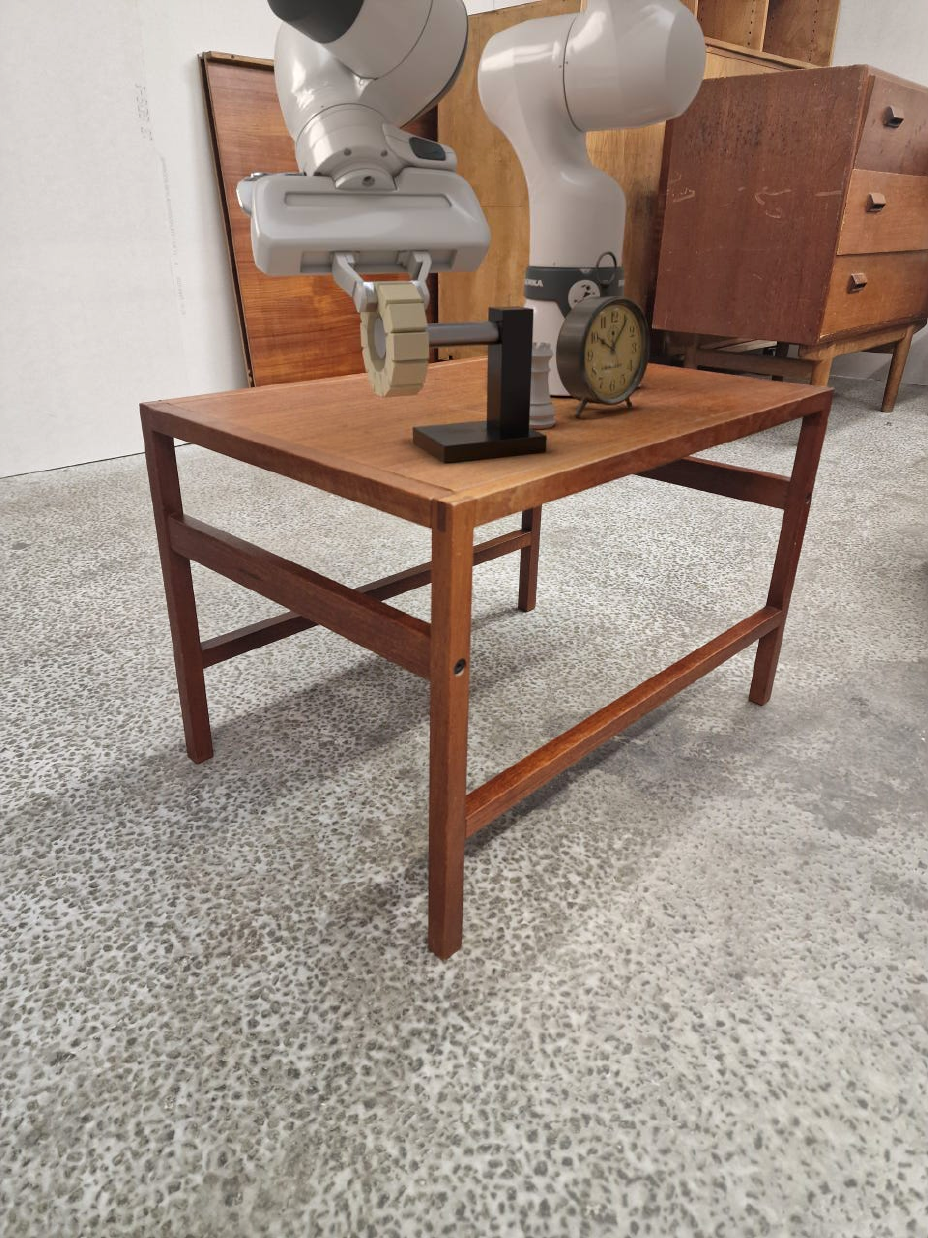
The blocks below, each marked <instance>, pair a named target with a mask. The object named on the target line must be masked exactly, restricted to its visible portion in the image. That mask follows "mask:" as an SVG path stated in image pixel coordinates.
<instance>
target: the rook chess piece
mask: <svg viewBox="0 0 928 1238" xmlns="http://www.w3.org/2000/svg"><path fill="white" fill-rule="evenodd" d="M553 355H554V353H553V352H552V350H551V349H550V343H545V342H541V343H540V345H539V346H537V342H532V367H531V394H530V420H529V428H530V429H533V430H543V429H549V428H552V427H554V425H555V424H556V422H557V419H556V418H555V417H554V416H555V414H556V413H557V410H556V409H557V408H556V407H555V406H554V404H553V400H552V399H551V395H550V393H549V382H548V376H549V372H550V370H551V369H550V368H549V360H550V359H551V358H552V356H553Z"/></svg>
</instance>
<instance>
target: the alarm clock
mask: <svg viewBox="0 0 928 1238" xmlns="http://www.w3.org/2000/svg"><path fill="white" fill-rule="evenodd" d="M606 254H609V255H610V256H611V257H612V258H613V262H614V272H613V276H612V278H611V279H610V281H608V280H603V281H600V280H599V277H598V267H599V263H600V261H601V259H602V257H603V256H605V255H606ZM616 270H617V261H616V257H615V255H614V254H613V253H612V252H611V251H605V252H603V253H602V254H601V255H600V257H599V258H598V260H597V263H596V267H595V276H596V279H597V281H598V283H599V284H600V286H601V293H600V296H595V297H590V298H587V299H584V300H583V301H581V302H579V303H578V304H577V305H576V306H575V307H574V308H573V309H572V310H571V311H570V312H569V314H568V315H567V317H566V318H565V320H564V322H563V324H562V326H561V329H560V332H559V335H558V340H557V345H556V365H557V370H558V374H559V377H560V380H561V382H562V384H563V386H564V388H565V389H566V390H567V392H568V393H569V394H570V395H571V397H572V398H573V399H575V400H576V401H578V402H579V404H578V407H577V411H576V412H575V413H574V418H575V419H580V418H581V416H582V414H581V413H583V411H584V410H585V408H586V406H587V404H588V403H589V404H595V405H604V406H609V407H610V406H616V405H620V404H621V403H622V404H623V402H625V403H626V406H627V407H628V408H632V407H633V402H632V401H631V399H630V398H631V396H633V394H634V392H636V390H637V389H638V386H639V384H640V382H641V383H642V380H643V379H644V377H645V373H646V371H647V367H648V365H649V364H648V363H649V359H650V351H651V336H650V329H649V324H648V321H647V318H646V316H645V313H644V312H643V310H642V308H641V307H640V305H639V304H638V303H637V302H636V301H634V300H633V299H631V298H630V297H628V296H624V295H623V296H609V289H608V287H609V285H610V283H611V282H612V281H613V280H614V278H615V275H616ZM639 387H640V386H639Z"/></svg>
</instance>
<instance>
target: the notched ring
mask: <svg viewBox="0 0 928 1238" xmlns="http://www.w3.org/2000/svg"><path fill="white" fill-rule="evenodd" d="M408 281H409V280H408ZM408 281H407V280H383V281H382V280H381V281H380V280H379V281H373V282H374V285H375V288H376V289H375V291H376V292H377V295H378V305H377V306H376V308H377V310H376V312H363V313H360V315H359V316H360V321H361V322H360V323H359V329H360V344H361V345H360V346H361V347H362V351H361V352H362V358H363V363H364V367H365V372H366V373H367V379H368V382H369V384H370V385H371V388H372V390H373V392H375V395H377V396H378V397H380V398H382V399H386V398H399V397H409V396H410V397H411V396H416V395H418V394H419V393H420V392H421V390H422V389H423V388H424V385H425V383H426V381H427V374H428V370H429V364H430V363H429V361H428V359H430V348H429V333H428V332H425V331H426V329H427V328H428V325H427V324H428V319H427V315H426V310H424V305H423V303H421V301H422V298H421V296H420V294H419V292H418V290H417V288H416V287H415V285H414V284H412V282H408ZM378 318H382V320H383V325H384V330H385V335H386V358H384V359H382V358H380V357H379V356H378V353H377V351H376V347H375V340H374V328H375V322H376V320H377V319H378Z"/></svg>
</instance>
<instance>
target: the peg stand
mask: <svg viewBox="0 0 928 1238" xmlns="http://www.w3.org/2000/svg"><path fill="white" fill-rule="evenodd" d="M487 311H488V313H487V315H488V319H487V320H482V321H481V320H480V321H479V320H478V321H455V322H435V323H434V322H433V323H432V322H431V323H427V325H428V328H427V329H426V331H425V332H428V333H429V349H445V348H446V349H447V348H463V347H465V348H466V347H481V346H482V347H484V346H487V371H486V372H487V375H486V376H487V380H486V381H487V382H486V383H487V384H486V385H487V386H486V420H475V421H465V422H453V423H442V424H431V425H421V426H419V425H418V426H413V427H412V443H413V444H414V445H416V446H418V447H419V448H420V449H422V450H424V451H425V452H427V453H428V454H429V455H431V456H433V457H435V458H436V459H438V460H440V461H441V462H443V463H444V464H449V463H457V462H466V461H476V460H485V459H494V458H503V457H513V456H522V455H530V454H531V455H532V454H540V453H546V452H547V443H548V442H547V441H548V435H546V434H544V433H541V432H539V431H537V430H536V429H530V428H529V420H530V394H531V367H532V341H533V315H534V309H531V308H525V307H523V306H519V305H515V306H513V305H512V306H489V307H488V309H487ZM374 340H375V347H376V351H377V353H378V356H379V357H380V358H382V359H384V358H386V335H385V330H384V325H383V320H382V318H378V319H377V320H376V322H375V328H374Z"/></svg>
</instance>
